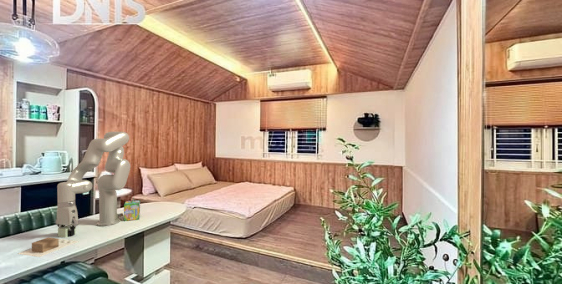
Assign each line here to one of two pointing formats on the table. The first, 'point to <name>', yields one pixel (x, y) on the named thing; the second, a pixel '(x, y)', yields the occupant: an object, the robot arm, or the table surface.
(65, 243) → the snap baseplate
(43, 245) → the walnut block
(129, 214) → the chalk box
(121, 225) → the table surface
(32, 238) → the table surface
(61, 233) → the sage block
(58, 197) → the robot arm
